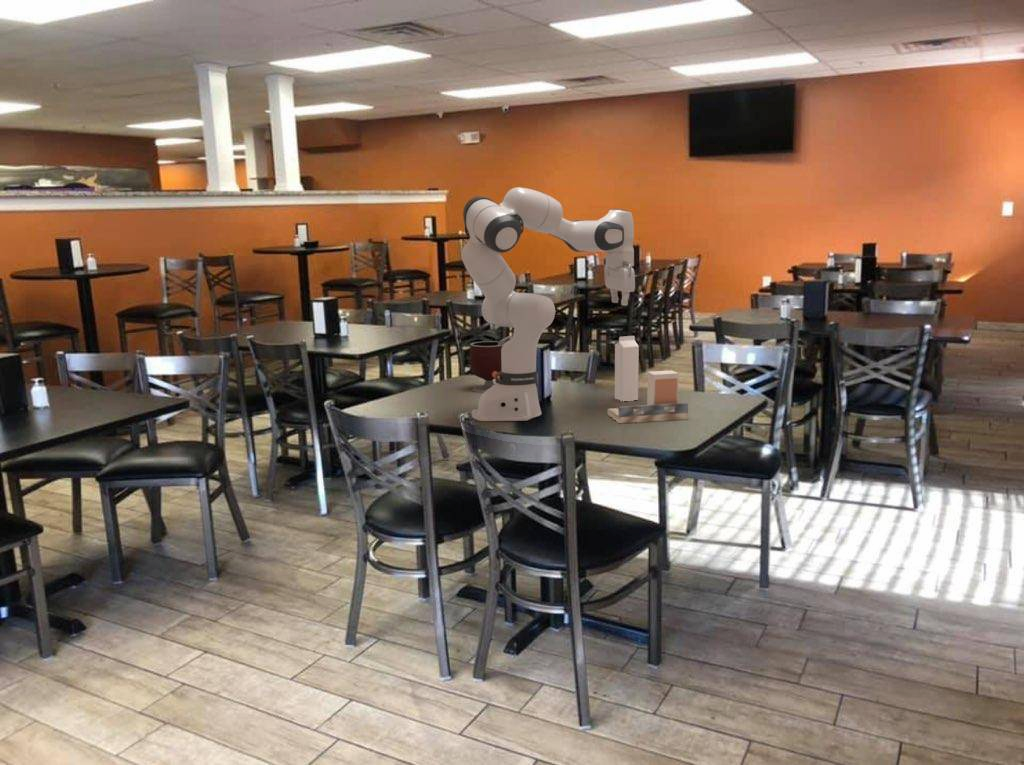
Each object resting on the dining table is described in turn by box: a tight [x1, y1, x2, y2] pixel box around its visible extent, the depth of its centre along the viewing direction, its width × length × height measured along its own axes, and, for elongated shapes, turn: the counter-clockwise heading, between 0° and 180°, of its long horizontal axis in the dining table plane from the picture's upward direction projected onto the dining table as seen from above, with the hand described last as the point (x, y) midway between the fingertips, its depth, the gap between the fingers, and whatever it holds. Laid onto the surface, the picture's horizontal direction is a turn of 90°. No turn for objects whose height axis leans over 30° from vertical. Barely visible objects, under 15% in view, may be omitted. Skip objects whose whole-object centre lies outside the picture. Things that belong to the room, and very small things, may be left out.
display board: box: [607, 402, 689, 424], centre depth 263 cm, size 22×12×5 cm, turn 101°
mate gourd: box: [469, 335, 513, 394], centre depth 308 cm, size 16×14×20 cm
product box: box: [646, 370, 679, 405], centre depth 262 cm, size 8×6×12 cm
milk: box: [614, 335, 640, 403], centre depth 287 cm, size 6×6×22 cm
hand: (619, 304), depth 272 cm, fingers open, 8 cm apart
